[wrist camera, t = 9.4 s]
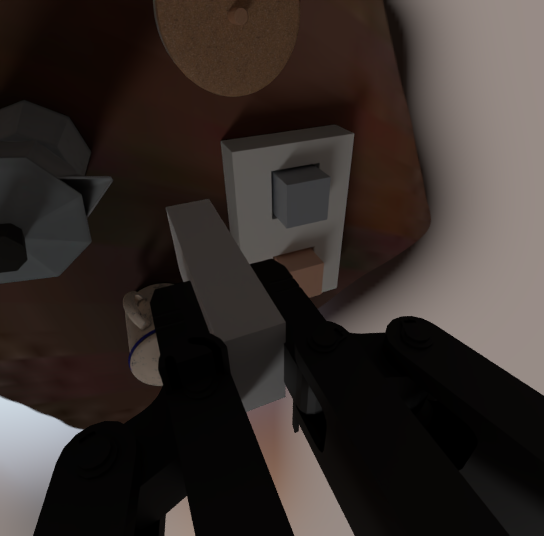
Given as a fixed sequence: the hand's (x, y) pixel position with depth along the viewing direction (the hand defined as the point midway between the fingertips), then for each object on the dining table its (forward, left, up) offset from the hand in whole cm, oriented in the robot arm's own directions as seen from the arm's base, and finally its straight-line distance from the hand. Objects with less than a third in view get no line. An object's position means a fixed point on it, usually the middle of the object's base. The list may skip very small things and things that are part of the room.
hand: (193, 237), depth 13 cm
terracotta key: (+21, +15, -24) cm, 35 cm away
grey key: (+10, +15, -24) cm, 30 cm away
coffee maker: (+4, -10, -27) cm, 29 cm away
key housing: (+16, +15, -26) cm, 34 cm away
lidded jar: (-6, +8, -27) cm, 29 cm away
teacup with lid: (+24, -3, -27) cm, 36 cm away
